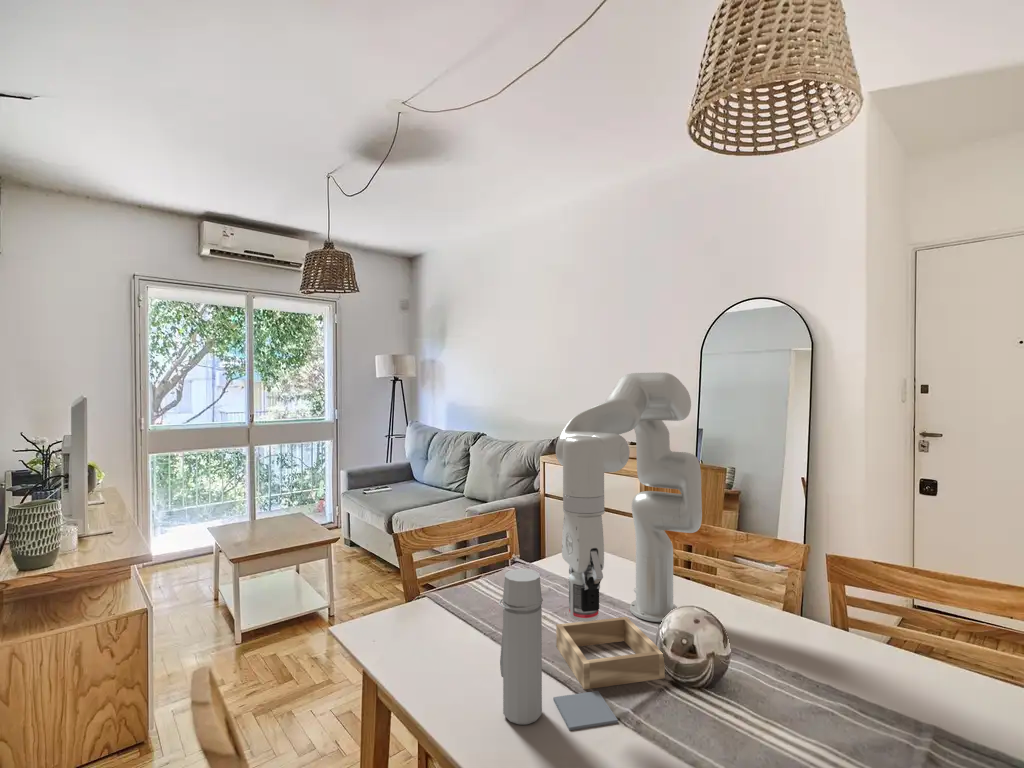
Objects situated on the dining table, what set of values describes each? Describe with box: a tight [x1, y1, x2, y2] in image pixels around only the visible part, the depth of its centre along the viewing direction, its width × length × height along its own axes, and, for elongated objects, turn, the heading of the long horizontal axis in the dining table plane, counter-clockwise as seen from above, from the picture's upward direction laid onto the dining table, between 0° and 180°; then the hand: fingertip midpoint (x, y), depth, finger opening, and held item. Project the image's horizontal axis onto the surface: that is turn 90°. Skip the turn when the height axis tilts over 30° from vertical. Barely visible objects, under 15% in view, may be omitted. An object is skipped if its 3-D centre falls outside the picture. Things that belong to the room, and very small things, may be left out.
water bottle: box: [498, 568, 544, 725], centre depth 94 cm, size 9×8×25 cm
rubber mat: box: [553, 690, 619, 731], centre depth 94 cm, size 9×9×1 cm
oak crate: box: [555, 616, 666, 690], centre depth 111 cm, size 17×17×5 cm
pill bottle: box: [568, 567, 600, 622], centre depth 94 cm, size 5×5×10 cm
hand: (583, 602), depth 94 cm, fingers closed on pill bottle, 5 cm apart
